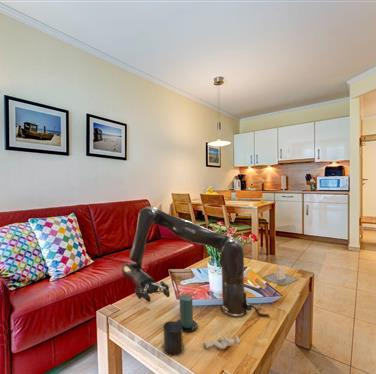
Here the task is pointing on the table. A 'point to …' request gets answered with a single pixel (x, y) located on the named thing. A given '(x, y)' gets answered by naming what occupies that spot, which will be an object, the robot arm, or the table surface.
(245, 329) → the table surface
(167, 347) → the black cylinder
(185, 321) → the green post with base
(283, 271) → the architectural model
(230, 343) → the soldier figure
